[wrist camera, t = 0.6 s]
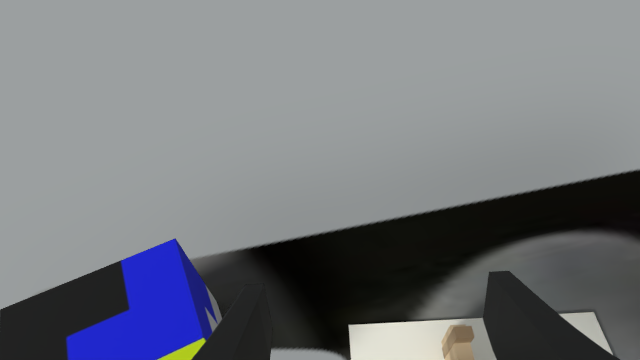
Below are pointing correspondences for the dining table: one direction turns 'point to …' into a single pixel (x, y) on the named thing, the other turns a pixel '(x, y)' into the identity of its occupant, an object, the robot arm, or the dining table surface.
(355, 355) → the mat
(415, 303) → the dining table surface
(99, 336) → the puzzle toy
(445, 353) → the fence panel
